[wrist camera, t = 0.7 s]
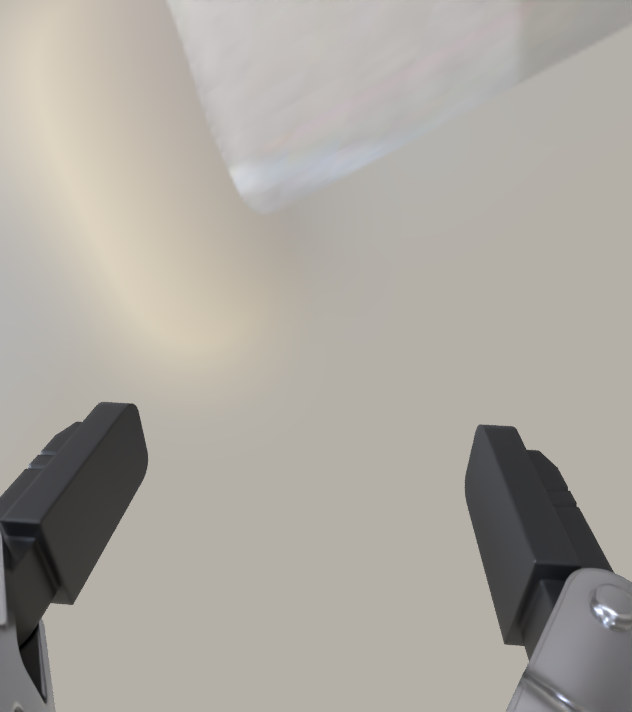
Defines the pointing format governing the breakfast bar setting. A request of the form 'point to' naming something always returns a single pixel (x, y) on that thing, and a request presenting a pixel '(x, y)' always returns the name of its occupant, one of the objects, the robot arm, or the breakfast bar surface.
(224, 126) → the breakfast bar surface
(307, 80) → the breakfast bar surface
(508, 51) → the breakfast bar surface
